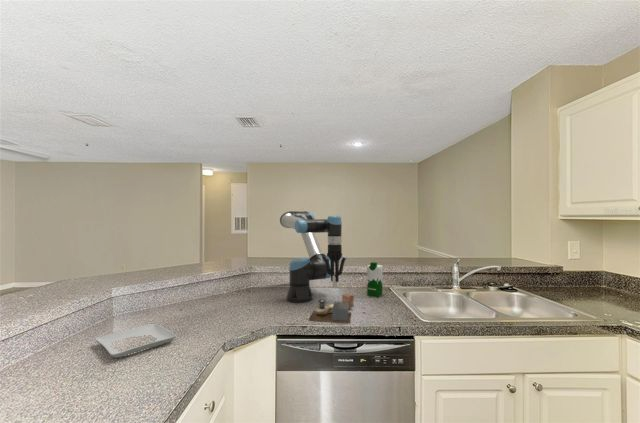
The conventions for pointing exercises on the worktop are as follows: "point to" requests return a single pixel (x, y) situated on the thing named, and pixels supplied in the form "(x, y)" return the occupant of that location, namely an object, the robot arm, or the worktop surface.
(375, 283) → the milk carton
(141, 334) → the salad plate
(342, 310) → the keeper
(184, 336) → the worktop surface
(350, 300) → the link
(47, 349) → the worktop surface
